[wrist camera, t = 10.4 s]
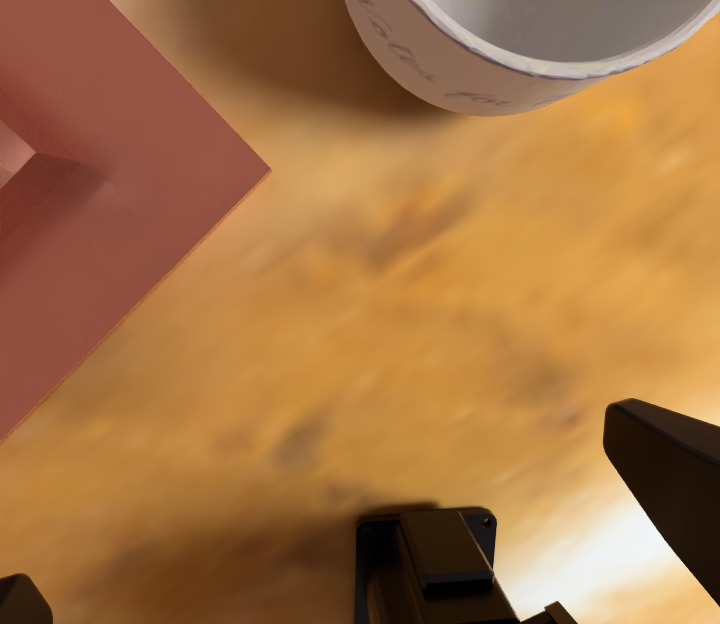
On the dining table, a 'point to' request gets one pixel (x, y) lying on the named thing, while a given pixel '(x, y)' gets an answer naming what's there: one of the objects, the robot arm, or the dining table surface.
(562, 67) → the teacup
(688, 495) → the robot arm
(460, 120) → the dining table surface
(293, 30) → the dining table surface
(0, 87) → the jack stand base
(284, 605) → the dining table surface
